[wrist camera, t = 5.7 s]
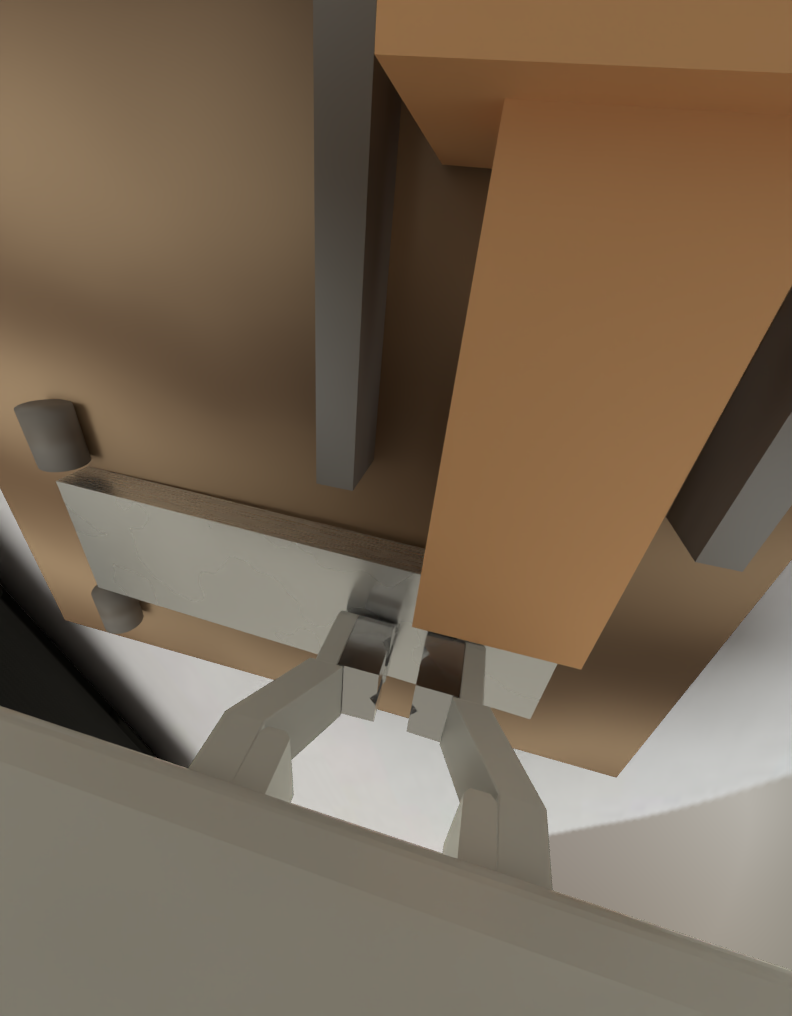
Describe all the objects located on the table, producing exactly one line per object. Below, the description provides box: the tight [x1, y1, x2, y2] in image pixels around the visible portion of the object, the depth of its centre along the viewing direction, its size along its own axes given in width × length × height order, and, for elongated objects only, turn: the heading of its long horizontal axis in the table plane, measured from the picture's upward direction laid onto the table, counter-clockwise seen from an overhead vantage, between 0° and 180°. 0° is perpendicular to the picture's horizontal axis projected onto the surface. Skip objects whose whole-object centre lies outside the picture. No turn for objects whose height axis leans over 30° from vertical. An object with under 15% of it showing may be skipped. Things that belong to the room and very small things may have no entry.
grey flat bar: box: [56, 466, 557, 719], centre depth 11 cm, size 4×14×1 cm, turn 84°
